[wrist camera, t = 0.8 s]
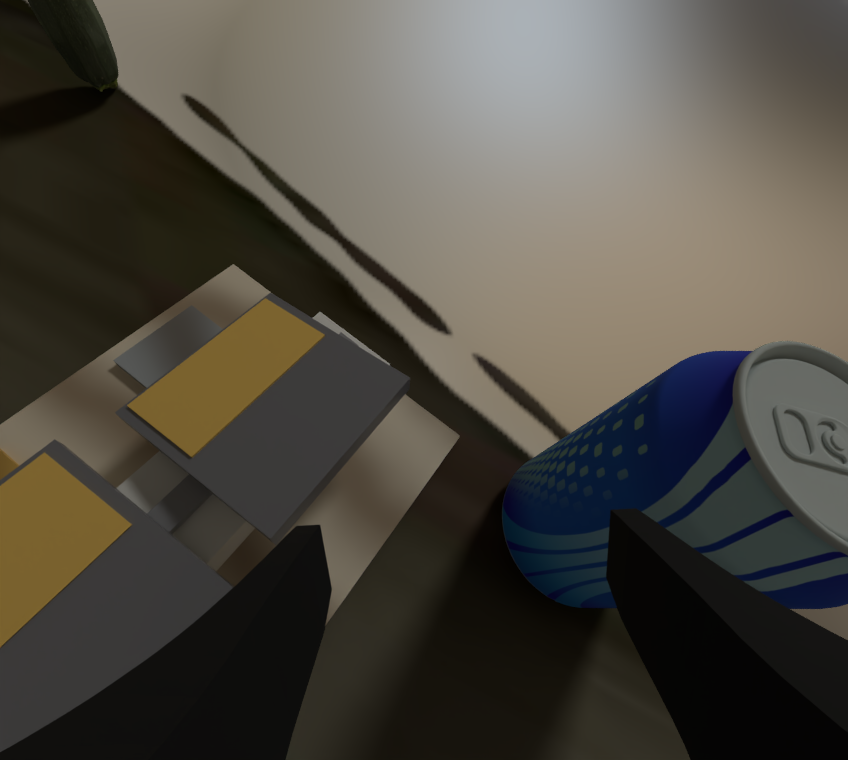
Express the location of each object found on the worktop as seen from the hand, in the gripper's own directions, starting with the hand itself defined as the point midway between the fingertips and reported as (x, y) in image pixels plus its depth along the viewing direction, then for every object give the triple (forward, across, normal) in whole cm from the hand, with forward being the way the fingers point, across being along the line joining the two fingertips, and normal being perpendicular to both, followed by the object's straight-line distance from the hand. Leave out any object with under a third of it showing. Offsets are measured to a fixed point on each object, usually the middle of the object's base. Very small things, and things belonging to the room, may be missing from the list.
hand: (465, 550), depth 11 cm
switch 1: (+2, +15, +4) cm, 15 cm away
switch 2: (+10, +8, 0) cm, 13 cm away
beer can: (+13, -6, +10) cm, 17 cm away
